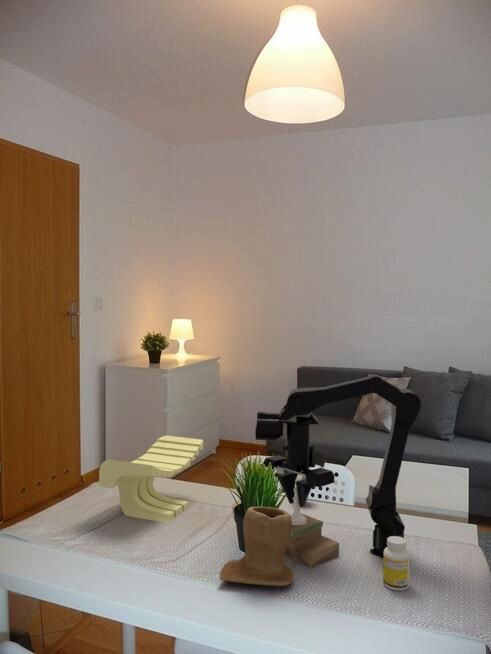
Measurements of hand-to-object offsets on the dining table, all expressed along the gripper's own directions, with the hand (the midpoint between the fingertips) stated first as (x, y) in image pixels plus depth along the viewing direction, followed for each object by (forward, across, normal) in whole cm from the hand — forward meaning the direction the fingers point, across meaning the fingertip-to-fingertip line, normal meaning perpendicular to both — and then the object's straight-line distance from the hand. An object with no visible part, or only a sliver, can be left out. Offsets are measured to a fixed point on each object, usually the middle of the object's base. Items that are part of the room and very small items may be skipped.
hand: (296, 505), depth 138 cm
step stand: (+10, -3, 0) cm, 11 cm away
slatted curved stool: (+11, +43, +13) cm, 46 cm away
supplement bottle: (+11, -26, -3) cm, 28 cm away
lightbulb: (+11, +20, -24) cm, 33 cm away
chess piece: (+4, 0, 0) cm, 4 cm away
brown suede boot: (+11, -5, +17) cm, 21 cm away
